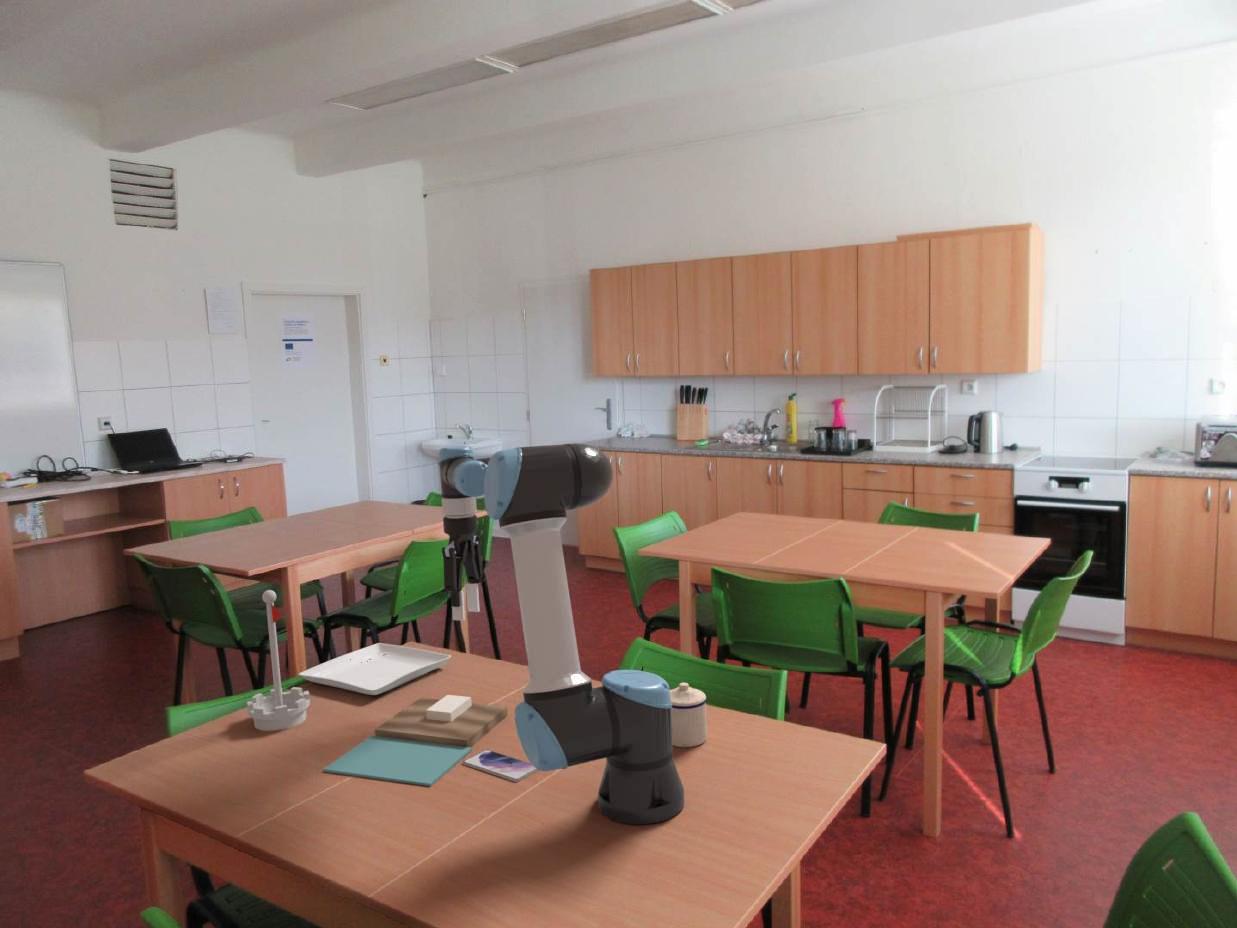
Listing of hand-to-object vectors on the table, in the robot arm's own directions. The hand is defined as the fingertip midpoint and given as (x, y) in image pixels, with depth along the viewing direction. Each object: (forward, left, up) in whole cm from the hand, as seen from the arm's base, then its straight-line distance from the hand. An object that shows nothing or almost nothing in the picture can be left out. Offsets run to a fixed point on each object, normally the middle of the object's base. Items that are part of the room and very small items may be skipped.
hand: (466, 615), depth 208 cm
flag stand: (-19, +38, -21) cm, 47 cm away
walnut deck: (-13, 0, -21) cm, 25 cm away
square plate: (+11, +33, -22) cm, 41 cm away
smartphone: (-27, -21, -22) cm, 40 cm away
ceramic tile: (-10, 0, -19) cm, 21 cm away
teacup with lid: (-6, -51, -21) cm, 56 cm away
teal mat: (-30, 0, -21) cm, 37 cm away
